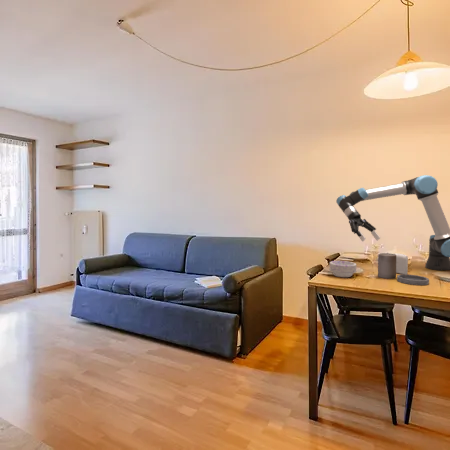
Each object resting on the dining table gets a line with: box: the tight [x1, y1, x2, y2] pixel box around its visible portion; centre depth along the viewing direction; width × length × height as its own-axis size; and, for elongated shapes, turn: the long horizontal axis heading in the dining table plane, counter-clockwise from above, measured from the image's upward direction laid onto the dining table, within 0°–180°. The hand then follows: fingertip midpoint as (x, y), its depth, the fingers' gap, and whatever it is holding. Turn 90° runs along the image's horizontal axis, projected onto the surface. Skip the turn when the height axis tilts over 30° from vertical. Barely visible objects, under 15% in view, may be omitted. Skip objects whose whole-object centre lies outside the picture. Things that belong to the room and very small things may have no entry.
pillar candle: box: [377, 252, 397, 280], centre depth 185 cm, size 10×10×15 cm
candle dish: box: [396, 274, 430, 286], centre depth 174 cm, size 15×15×2 cm
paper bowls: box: [329, 260, 357, 278], centre depth 188 cm, size 15×15×8 cm
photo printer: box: [395, 252, 409, 275], centre depth 196 cm, size 10×4×12 cm, turn 39°
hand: (371, 239), depth 193 cm, fingers open, 13 cm apart
